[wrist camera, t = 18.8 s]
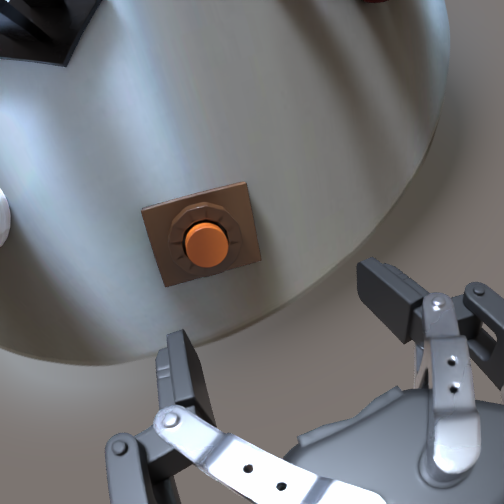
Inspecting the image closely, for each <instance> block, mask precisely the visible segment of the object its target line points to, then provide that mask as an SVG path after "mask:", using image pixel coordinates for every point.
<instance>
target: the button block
mask: <svg viewBox="0 0 504 504" xmlns="http://www.w3.org/2000/svg"><path fill="white" fill-rule="evenodd" d="M141 214H142V217H143V220H144V224H145V227H146V230H147V234H148V237H149V240H150V243H151V246H152V250H153V253H154V256H155V259H156V262H157V265H158V268H159V271H160V274H161V276H162V279H163V282H164V285H165V287H169V286H173V285H176V284H180V283H184V282H187V281H191V280H194V279H198V278H202V277H208V276H212V275H216V274H219V273H222V272H224V271H226V270H230V269H234V268H237V267H241V266H244V265H248V264H251V263H255V262H258V261H261V255H260V250H259V244H258V239H257V234H256V229H255V224H254V219H253V214H252V208H251V203H250V198H249V193H248V188H247V183H245V182H239V183H235V184H231V185H226V186H222V187H218V188H214V189H210V190H206V191H202V192H199V193H195V194H191V195H187V196H183V197H180V198H176V199H172V200H169V201H165V202H162V203H158V204H155V205H151V206H148V207H145V208H142V210H141ZM203 222H209V223H213V224H215V225H217V226H218V227H220V228H221V230H222V231H223V233H224V234H225V236H226V238H227V241H228V253H227V255H226V257H225V258H224V260H223V261H222V262H221V263H219V264H218V265H216V266H213V267H208V268H206V267H200V266H197V265H195V264H194V263H193V262H192V261H191V260H190V259H189V257H188V255H187V252H186V245H185V239H186V235H187V233H188V232H189V230H190V229H191V228H192V227H193V226H195V225H197V224H199V223H203Z"/></svg>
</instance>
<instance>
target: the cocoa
mask: <svg viewBox="0 0 504 504" xmlns="http://www.w3.org/2000/svg"><path fill="white" fill-rule="evenodd" d="M363 1H365V2H367V3H380V2H385V1H388V0H363Z"/></svg>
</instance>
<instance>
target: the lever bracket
mask: <svg viewBox="0 0 504 504" xmlns="http://www.w3.org/2000/svg"><path fill="white" fill-rule="evenodd" d="M101 1H102V0H10V1H9V3H8V2H7V1H6V0H0V59H7V60H18V61H27V62H35V63H42V64H49V65H55V66H61V67H67V65H68V62H69V60H70V58H71V56H72V54H73V52H74V50H75V48H76V46H77V44H78V42H79V40H80V38H81V36H82V34H83V32H84V30H85V29H86V27H87V25H88V23H89V21H90V20H91V18H92V16H93V14H94V13H95V11H96V9H97V8H98V6H99V5H100V3H101Z"/></svg>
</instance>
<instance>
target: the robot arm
mask: <svg viewBox="0 0 504 504" xmlns="http://www.w3.org/2000/svg"><path fill="white" fill-rule="evenodd" d="M357 291H358V295H359V297H360V299H361V301H362V302H363V303H364V304H365V305H366V306H367V307H368V308H369V309H370V310H371V311H372V312H373V313H374V314H375V315H376V316H377V317H378V318H379V319H380V320H381V321H382V322H383V323H384V324H385V325H386V326H387V327H388V328H389V329H390V330H391V331H392V333H393V334H394V335H395V336H396V337H397V338H398V339H399V340H400V341H401V342H402V343H403V344H406V343H407V342H409V341H411V340H413V341H414V342H415V345H414V369H415V370H414V372H415V373H414V377H415V378H414V386H413V389H408V390H404V391H401V389H400V388H399V387H398V386H396V387H394V388H392V389H391V390H389V391H387V392H386V393H384V394H382V395H380V396H379V397H377V398H375V399H374V400H373V401H372V402H371V403H370V404H369V405H368V406H367V407H365V408H364V409H363V410H362V411H361V412H360V413H359V414H358V415H356V416H355V417H353V418H351V419H347V420H343V421H339V422H335V423H331V424H326V425H323V426H320V427H318V428H316V429H314V430H312V431H309V432H307V433H304V434H302V435H300V436H298V437H297V439H298V442H299V443H298V444H297V445H296V446H294V447H293V448H292V449H291V450H290V451H289V452H288V453H287V454H286V455H285V456H284V457H283V459H280V458H278V457H276V456H274V455H271V454H270V453H267V452H266V451H264V450H261V449H260V448H258V447H256V446H254V445H252V444H250V443H248V442H247V441H245V440H243V439H241V438H239V437H238V436H236V435H234V434H231V433H227V434H226V433H223V432H222V431H220V430H218V429H217V428H216V427H217V426H216V423H215V419H214V415H213V412H212V408H211V404H210V400H209V396H208V392H207V388H206V384H205V380H204V375H203V371H202V367H201V363H200V360H199V358H198V355H197V353H196V352H195V349H194V348H193V346H192V344H191V342H190V340H189V338H188V336H187V334H186V332H185V331H184V329H182V330H179V331H176V332H173V333H170V334H167V348H164V349H160V350H159V352H158V355H157V357H156V360H155V361H156V371H157V372H156V376H157V388H158V399H159V412H158V413H157V415H156V416H155V418H154V422H153V425H152V426H151V427H149V428H148V429H146V430H144V431H143V432H141V433H139V434H137V435H135V436H134V437H133V436H132V435H131V434H128V433H118V434H116V435H114V436H112V437H111V438H110V439H109V441H108V442H107V444H106V447H105V459H106V470H107V480H108V489H109V496H110V503H111V504H181V502H180V498H179V494H178V491H177V487H176V483H175V480H174V476H173V475H175V474H176V473H178V472H180V471H181V470H183V469H185V468H187V467H188V466H190V465H192V464H193V465H195V466H196V467H197V468H198V469H200V470H201V471H203V472H204V473H206V474H207V475H208V476H210V477H211V478H213V479H214V480H216V481H217V482H219V483H220V484H222V485H223V486H225V487H226V488H228V489H230V490H231V491H233V492H234V493H236V494H237V495H239V496H240V497H242V498H244V499H246V500H247V501H249V502H251V503H253V504H504V299H503V298H502V297H501V296H499V295H498V294H497V293H496V292H494V291H493V290H492V289H491V288H489V287H488V286H487V285H485V284H483V283H479V282H472V283H469V284H468V285H467V286H466V288H465V292H464V294H463V295H459V296H455V297H452V298H450V297H449V296H448V295H446V294H443V293H439V292H434V293H429V292H428V291H426V290H425V289H424V288H423V287H421V286H420V285H418V284H417V283H416V282H415V281H413V280H412V279H411V278H409V277H408V276H407V275H406V274H403V272H402V271H400V270H399V269H397V268H396V267H395V266H392V265H389V264H386V263H384V264H382V263H380V262H379V261H378V260H376V259H375V258H373V257H370V258H368V259H366V260H364V261H361V262H359V263H358V264H357ZM483 322H484V323H485V324H486V325H487V326H488V327H489V328H490V329H491V330H492V331H493V332H494V333H495V334H496V337H497V342H496V341H495V340H494V339H493V338H492V337H491V336H490V335H489V334H488V333H487V332H486V331H485V330H484V329H483V328H482V324H483ZM470 358H471V359H472V360H473V361H474V362H475V363H476V364H477V365H478V366H479V368H480V369H481V370H482V371H483V372H484V373H485V374H486V375H487V376H488V378H489V379H490V380H491V381H492V382H493V383H494V384H495V386H496V387H497V388H498V389H499V390H500V391H501V398H502V402H501V404H496V403H490V402H484V401H480V400H475V395H474V385H473V377H472V369H471V363H470Z"/></svg>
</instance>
